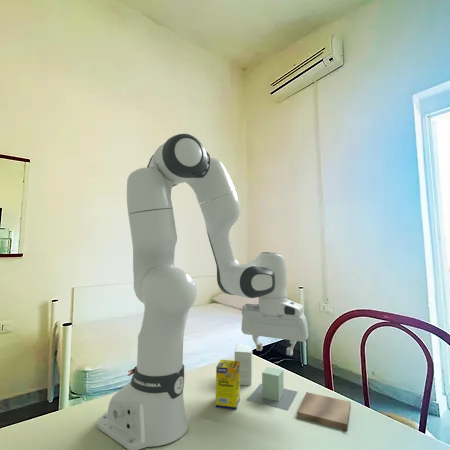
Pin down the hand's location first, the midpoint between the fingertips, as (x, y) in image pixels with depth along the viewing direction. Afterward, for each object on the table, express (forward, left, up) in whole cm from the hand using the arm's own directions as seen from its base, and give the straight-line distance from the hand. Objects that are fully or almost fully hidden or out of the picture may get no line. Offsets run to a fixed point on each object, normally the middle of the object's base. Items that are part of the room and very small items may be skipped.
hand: (274, 352), depth 89 cm
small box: (-12, +6, -13) cm, 19 cm away
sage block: (0, 0, -12) cm, 12 cm away
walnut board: (+15, -2, -13) cm, 19 cm away
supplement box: (-10, -10, -13) cm, 20 cm away
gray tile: (0, 0, -13) cm, 13 cm away
